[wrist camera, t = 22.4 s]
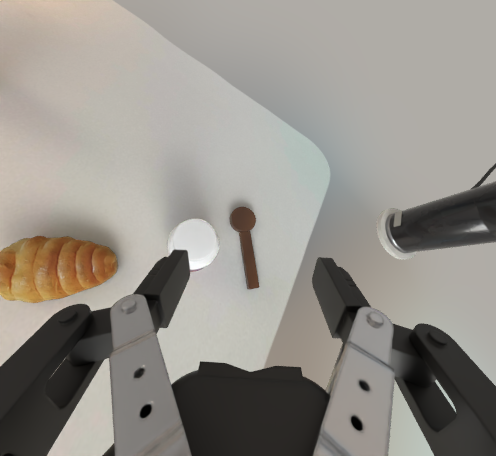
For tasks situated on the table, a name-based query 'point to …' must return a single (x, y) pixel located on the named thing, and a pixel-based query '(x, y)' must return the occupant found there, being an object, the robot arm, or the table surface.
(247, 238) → the spoon
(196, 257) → the pill bottle
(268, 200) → the table surface
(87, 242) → the pastry
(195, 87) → the table surface
